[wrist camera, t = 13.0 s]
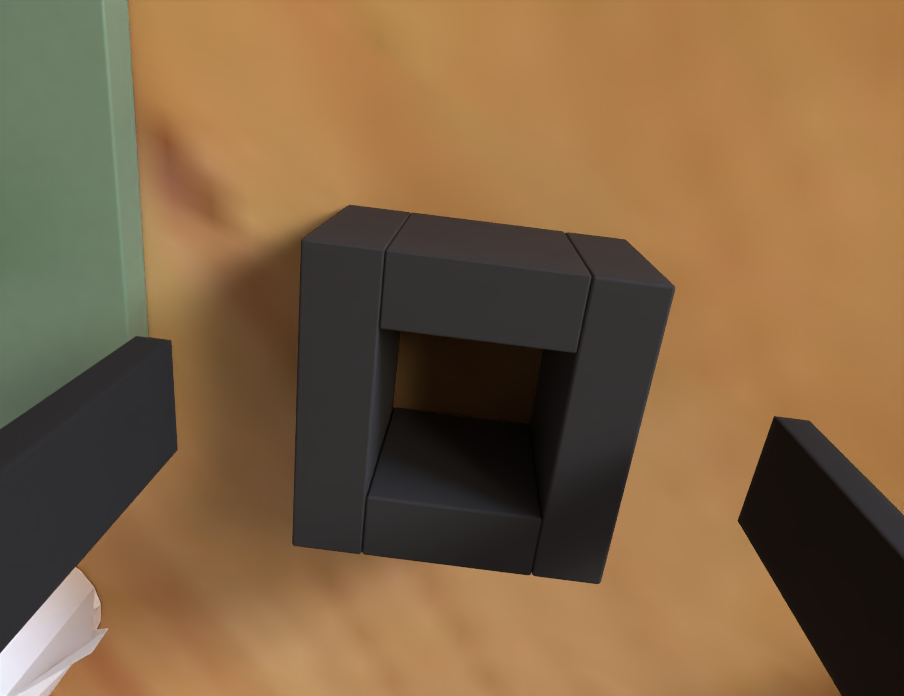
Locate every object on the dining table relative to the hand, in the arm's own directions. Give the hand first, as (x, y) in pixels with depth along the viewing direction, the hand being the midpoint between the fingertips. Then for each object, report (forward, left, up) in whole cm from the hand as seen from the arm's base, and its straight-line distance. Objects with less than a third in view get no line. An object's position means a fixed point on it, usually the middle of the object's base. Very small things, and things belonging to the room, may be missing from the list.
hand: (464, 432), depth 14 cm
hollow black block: (0, 0, -6) cm, 6 cm away
